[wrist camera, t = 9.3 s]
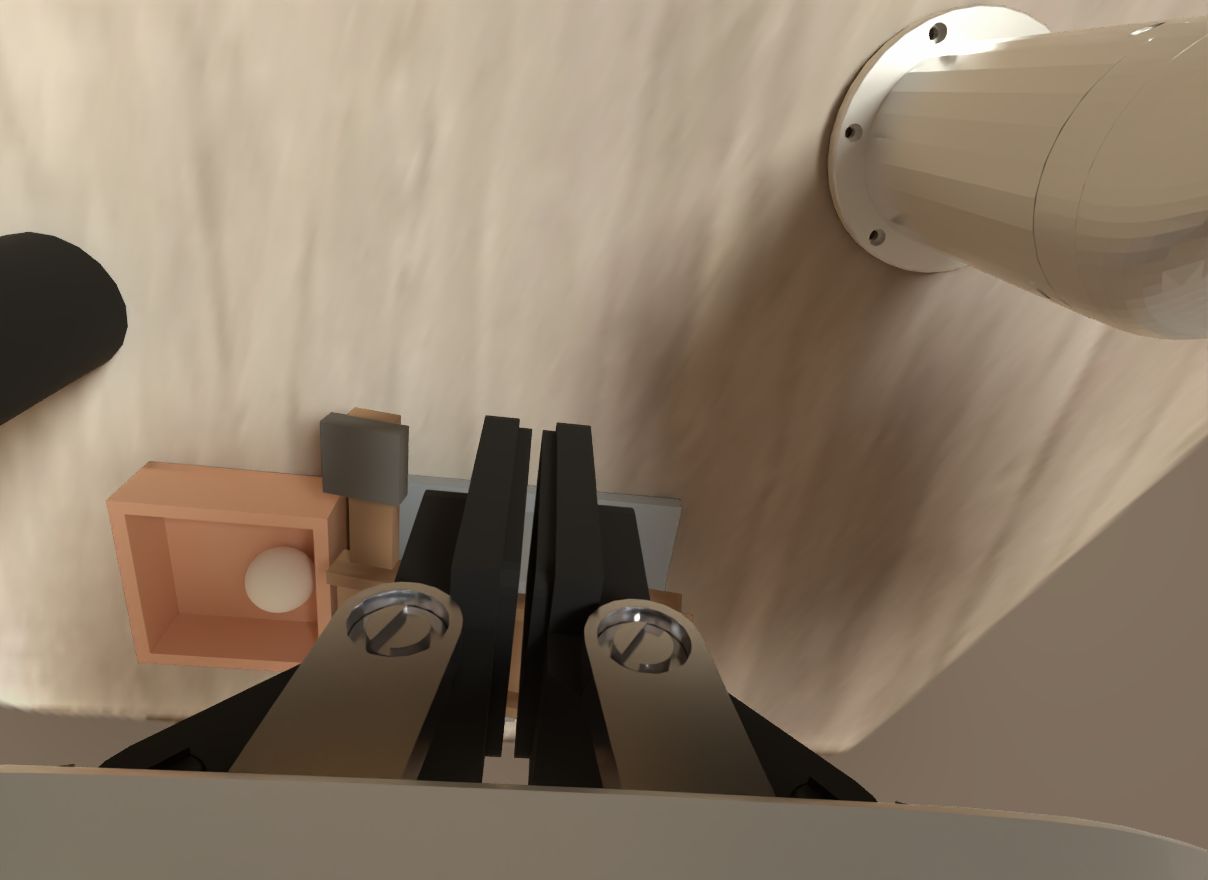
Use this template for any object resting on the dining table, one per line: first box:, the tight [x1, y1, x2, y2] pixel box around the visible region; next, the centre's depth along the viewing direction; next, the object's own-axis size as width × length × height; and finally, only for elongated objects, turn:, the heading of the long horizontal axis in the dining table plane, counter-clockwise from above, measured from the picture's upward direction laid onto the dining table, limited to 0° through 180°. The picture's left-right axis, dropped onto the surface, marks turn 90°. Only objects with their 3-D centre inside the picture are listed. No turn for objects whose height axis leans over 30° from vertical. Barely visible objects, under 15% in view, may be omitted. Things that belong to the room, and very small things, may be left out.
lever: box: [320, 407, 693, 719], centre depth 40 cm, size 20×17×6 cm
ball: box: [245, 546, 316, 613], centre depth 43 cm, size 4×4×4 cm
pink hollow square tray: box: [106, 461, 350, 671], centre depth 44 cm, size 12×12×4 cm
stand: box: [399, 475, 682, 722], centre depth 44 cm, size 20×13×8 cm, turn 82°
